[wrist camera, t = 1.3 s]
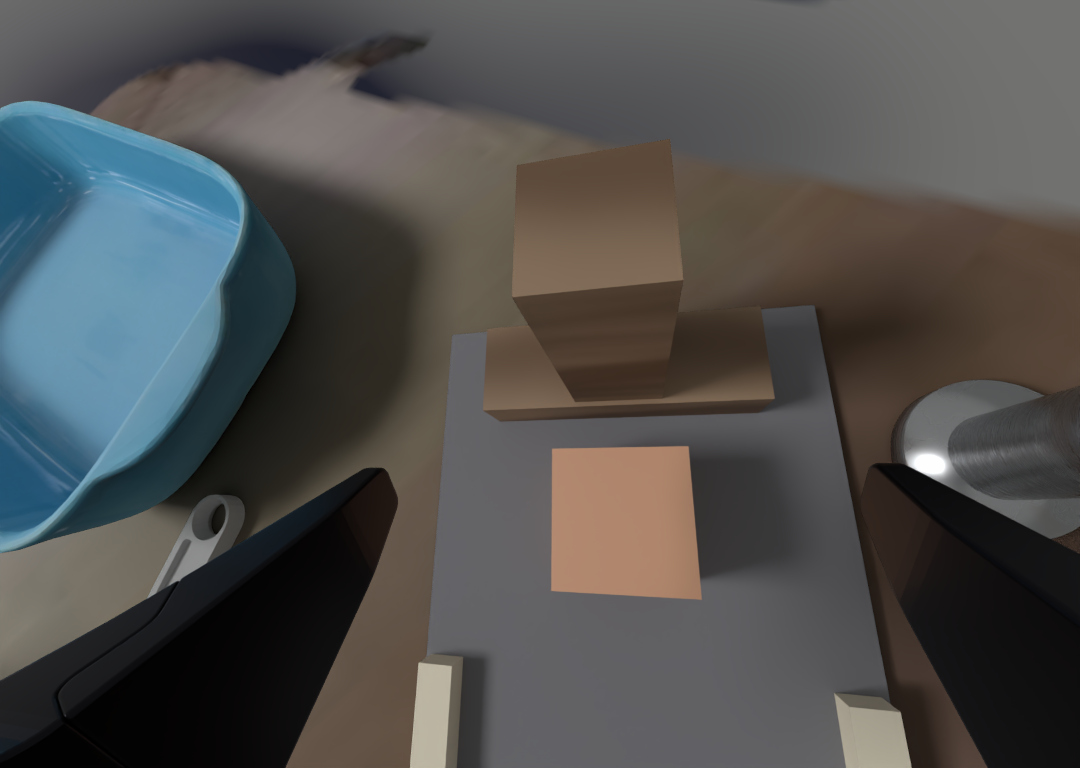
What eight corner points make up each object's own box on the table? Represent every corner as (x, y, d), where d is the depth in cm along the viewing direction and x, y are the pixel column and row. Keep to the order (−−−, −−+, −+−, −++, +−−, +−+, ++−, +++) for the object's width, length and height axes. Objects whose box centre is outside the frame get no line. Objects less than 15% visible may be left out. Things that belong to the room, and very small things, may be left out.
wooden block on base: (758, 413, 19) (931, 265, 8) (500, 421, 21) (344, 321, 10) (746, 330, 20) (881, 95, 9) (503, 347, 22) (366, 185, 11)
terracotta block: (689, 581, 17) (701, 599, 14) (569, 575, 19) (551, 591, 15) (679, 459, 19) (688, 446, 15) (568, 460, 20) (552, 448, 16)
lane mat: (953, 1063, 13) (994, 1136, 11) (409, 925, 17) (386, 966, 15) (811, 308, 20) (824, 292, 18) (455, 337, 24) (442, 326, 22)
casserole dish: (-73, 365, 35) (-242, 330, 28) (93, 151, 38) (-21, 75, 32) (197, 611, 23) (15, 652, 16) (401, 267, 27) (321, 185, 20)
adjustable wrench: (230, 486, 25) (201, 484, 23) (305, 538, 23) (280, 539, 21) (-54, 961, 21) (-114, 1000, 19) (9, 1076, 19) (-53, 1131, 17)
